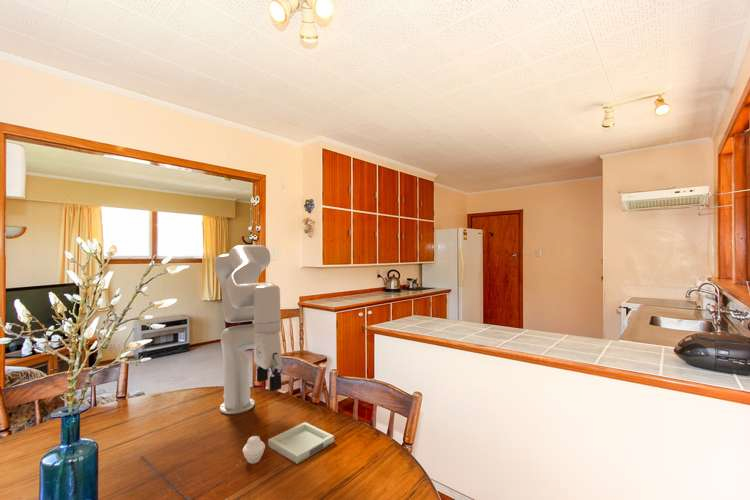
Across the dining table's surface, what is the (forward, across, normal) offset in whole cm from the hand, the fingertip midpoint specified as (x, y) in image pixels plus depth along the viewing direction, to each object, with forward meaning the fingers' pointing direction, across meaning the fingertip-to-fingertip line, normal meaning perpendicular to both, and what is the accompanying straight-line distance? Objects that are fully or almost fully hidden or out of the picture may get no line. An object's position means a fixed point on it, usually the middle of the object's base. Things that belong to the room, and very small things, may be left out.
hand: (268, 385), depth 104 cm
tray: (+21, -1, +10) cm, 24 cm away
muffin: (+22, -2, -4) cm, 22 cm away
